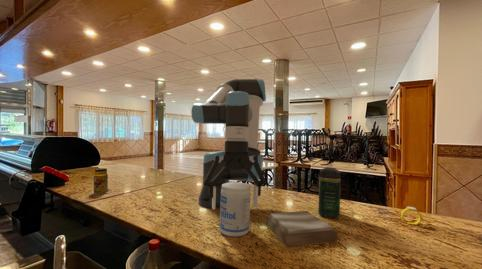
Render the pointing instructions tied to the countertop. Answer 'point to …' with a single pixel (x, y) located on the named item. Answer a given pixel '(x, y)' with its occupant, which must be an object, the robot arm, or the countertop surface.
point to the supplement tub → (235, 209)
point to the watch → (411, 210)
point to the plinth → (300, 228)
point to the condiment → (100, 181)
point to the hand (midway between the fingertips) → (234, 207)
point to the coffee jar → (329, 192)
